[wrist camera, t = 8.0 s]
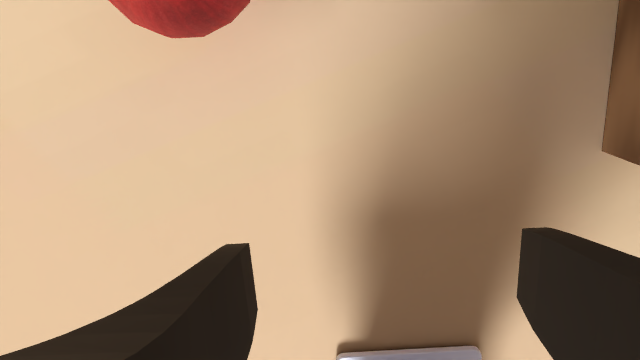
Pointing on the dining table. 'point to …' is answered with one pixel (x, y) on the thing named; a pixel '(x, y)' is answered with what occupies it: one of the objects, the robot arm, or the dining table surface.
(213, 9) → the onion
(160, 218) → the dining table surface
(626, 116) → the base
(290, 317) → the dining table surface
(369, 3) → the dining table surface
